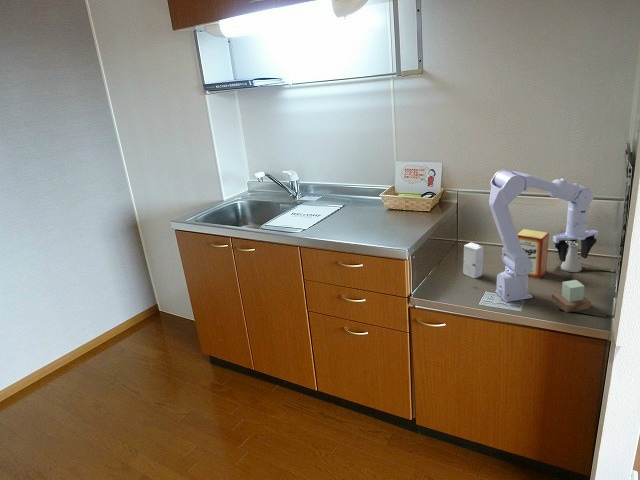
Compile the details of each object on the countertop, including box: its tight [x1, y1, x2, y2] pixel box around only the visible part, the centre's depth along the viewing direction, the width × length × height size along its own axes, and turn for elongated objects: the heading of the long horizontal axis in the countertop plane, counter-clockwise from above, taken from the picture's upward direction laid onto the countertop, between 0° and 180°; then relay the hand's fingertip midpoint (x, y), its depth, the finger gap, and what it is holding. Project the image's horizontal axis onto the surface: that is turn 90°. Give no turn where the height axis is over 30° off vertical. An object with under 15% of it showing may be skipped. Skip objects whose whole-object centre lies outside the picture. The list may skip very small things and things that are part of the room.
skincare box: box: [462, 242, 484, 279], centre depth 175 cm, size 6×4×12 cm
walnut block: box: [551, 291, 592, 314], centre depth 150 cm, size 8×8×3 cm
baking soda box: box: [517, 228, 550, 279], centre depth 170 cm, size 10×6×16 cm
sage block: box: [561, 279, 585, 302], centre depth 148 cm, size 4×4×5 cm
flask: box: [560, 242, 583, 273], centre depth 171 cm, size 7×7×10 cm
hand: (573, 258), depth 157 cm, fingers open, 7 cm apart
